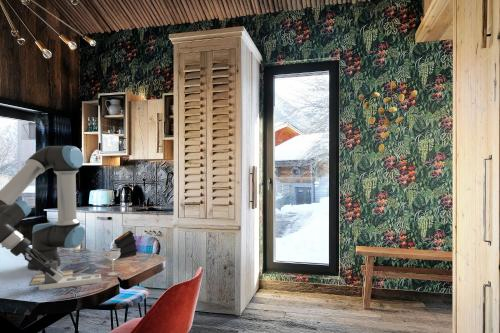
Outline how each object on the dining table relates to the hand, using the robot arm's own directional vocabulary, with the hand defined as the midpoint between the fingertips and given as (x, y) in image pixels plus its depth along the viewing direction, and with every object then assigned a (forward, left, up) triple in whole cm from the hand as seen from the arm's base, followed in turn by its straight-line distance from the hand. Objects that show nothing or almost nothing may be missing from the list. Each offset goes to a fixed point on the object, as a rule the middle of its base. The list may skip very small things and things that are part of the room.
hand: (60, 277), depth 146 cm
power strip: (0, +4, -4) cm, 6 cm away
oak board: (-13, -4, -4) cm, 14 cm away
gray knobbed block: (0, -4, -3) cm, 5 cm away
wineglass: (-10, +22, -4) cm, 25 cm away
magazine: (-44, +32, -4) cm, 55 cm away
